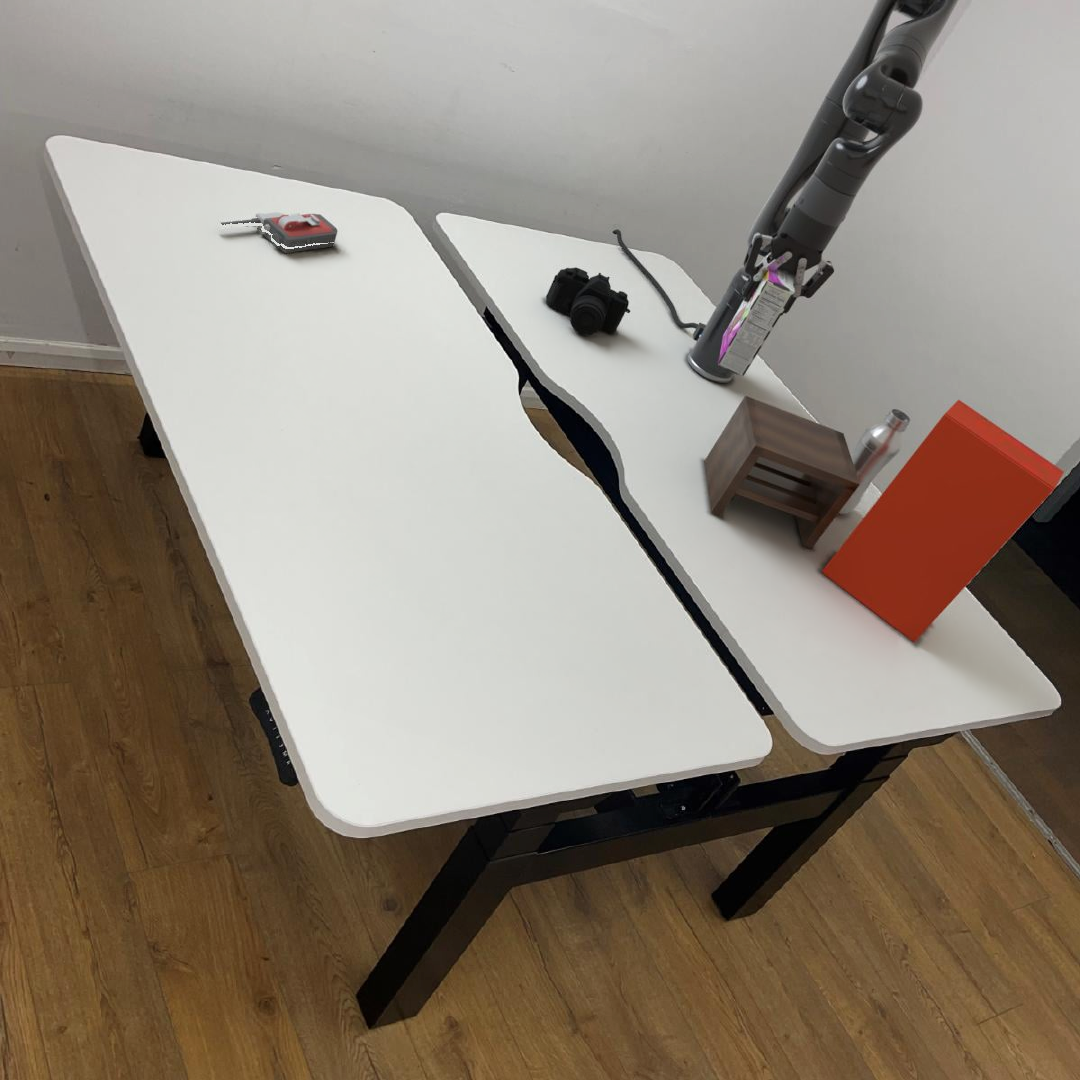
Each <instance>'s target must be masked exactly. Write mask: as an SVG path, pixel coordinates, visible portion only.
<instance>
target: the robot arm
mask: <svg viewBox="0 0 1080 1080" xmlns="http://www.w3.org/2000/svg"><path fill="white" fill-rule="evenodd" d="M958 2H960V1H959V0H876V1H875V3H874V4H873V7H872V9H871V10H870V13H869V15H868V17H867V19H866V21H865V23H864V25H863V27H862V30H861V31H860V33H859V35H858V37H857V40H856V41H855V43H854V45H853V47H852V49H851V51H850V52H849V55H848V56H847V58H846V60H845V62H844V63H843V65H842V67H841V68H840V70H839V72H838V73H837V75H836V77H835V79H834V81H833V82H832V84H831V86H830V87H829V89H828V91H827V92H826V94H825V96H824V97H823V100H822V101H821V103H820V105H819V107H818V109H817V110H816V113H815V114H814V116H813V119H812V120H811V122H810V124H809V126H808V128H807V130H806V132H805V134H804V136H803V137H802V139H801V142H800V144H799V146H798V147H797V149H796V152H795V154H794V155H793V157H792V159H791V160H790V162H789V164H788V166H787V167H786V170H785V171H784V173H783V174H782V176H781V178H780V180H779V181H778V182H777V184H776V186H775V187H774V189H773V191H772V192H771V194H770V196H769V197H768V199H767V201H766V202H765V204H764V205H763V207H762V208H761V210H760V212H759V214H758V216H757V217H756V219H755V221H754V222H753V224H752V226H751V229H750V231H749V234H748V236H747V242H746V245H747V247H748V249H747V251H746V254H745V257H744V261H743V266H740V267H739V268H738V269H736V272H735V273H734V275H733V276H732V279H731V280H730V283H729V284H728V286H727V288H726V289H725V291H724V293H723V295H722V296H721V299H720V300H719V302H718V304H717V305H716V306H715V308H714V310H713V312H712V314H711V316H710V318H709V319H708V321H707V323H706V324H704V323H702V322H699V323H696V322H688V323H687V322H686V323H684V322H682V321H681V319H680V318H679V316H678V313H677V310H676V308H675V305H674V303H673V302H672V300H671V298H670V296H669V295H668V294H667V292H666V291H665V290H664V288H663V287H662V286H661V284H660V283H659V282H658V281H657V279H656V278H655V277H654V275H652V274H651V272H650V271H649V270H648V269H647V268H646V267H645V266H644V264H642V262H640V260H639V259H638V258H637V256H635V255H634V254H633V252H632V251H631V250H630V249H629V247H627V245H626V244H625V242H624V241H623V238H622V232H621V230H620V229H614V230H613V231H611V233H612V234H613V235H616V238H617V243H618V245H619V246H620V248H621V249H622V250H623V252H624V253H625V254H626V256H628V258H629V259H630V260H631V261H632V262H633V263H634V264H635V265H636V266H637V268H638V269H639V270H640V271H641V272H642V273H643V274H644V275H645V277H646V278H647V279H648V280H649V281H650V282H651V283H652V284H653V286H654V287H655V288H656V290H657V291H658V292H659V294H660V295H661V297H662V298H663V299H664V302H665V303H666V304H667V306H668V308H669V310H670V313H671V316H672V319H673V321H674V323H675V324H676V325H677V326H678V327H680V328H682V329H694V332H693V333H692V339H693V341H695V344H694V346H693V347H692V349H691V351H689V354H687V362H688V364H689V365H690V367H691V368H692V369H693V370H694V371H695V372H696V373H697V374H699V375H701V376H702V377H704V378H706V379H708V380H710V381H712V382H715V383H720V384H726V383H727V384H728V383H730V382H731V381H732V380H733V378H734V376H735V373H733V372H731V371H729V370H727V369H724V368H722V367H721V366H719V365H718V361H719V356H720V350H721V344H722V338H723V335H724V333H725V331H726V330H727V328H728V326H729V325H730V323H731V321H732V319H733V318H734V316H735V314H736V312H737V311H738V309H739V307H740V305H741V304H742V302H743V300H744V301H746V302H749V301H750V299H751V297H752V296H753V294H754V292H755V290H756V289H757V287H758V285H759V284H760V283H759V281H760V280H761V279H762V278H763V277H764V276H765V274H766V273H767V272H768V271H770V272H773V271H774V270H775V269H779V270H783V271H786V272H788V273H789V274H791V275H793V276H794V279H795V293H794V295H793V296H792V298H791V299H790V301H789V303H788V304H787V306H786V307H785V309H784V311H783V312H782V314H781V316H780V317H782V316H783V315H784V314H788V313H789V311H790V310H791V308H792V306H794V304H795V302H796V301H797V299H798V298H800V297H803V298H806V299H810V298H812V297H813V296H814V295H815V294H816V292H818V290H820V288H821V287H822V286H823V285H824V284H825V283H826V282H827V281H828V279H829V278H830V277H832V275H833V274H834V272H835V268H834V266H833V263H832V261H830V260H825V259H824V258H823V253H824V251H825V250H826V248H827V247H828V245H829V244H830V242H831V240H832V239H833V237H834V236H835V234H836V232H837V231H838V229H839V227H840V226H841V224H842V223H843V222H844V221H845V219H846V216H847V214H848V213H849V211H850V209H851V207H852V205H853V202H854V201H855V198H856V196H857V195H858V193H859V192H860V190H861V188H862V187H863V186H864V183H865V182H866V180H867V179H868V177H869V176H870V174H871V173H872V171H873V169H874V168H876V166H877V165H878V163H879V162H880V161H881V160H882V159H883V158H884V157H885V155H886V154H888V152H890V150H891V149H892V148H893V147H895V146H896V145H897V144H898V143H899V142H900V141H901V140H902V139H903V138H904V137H905V136H906V135H907V134H908V133H909V132H910V131H912V129H914V128H915V125H916V124H917V123H918V122H919V120H920V117H921V116H922V113H923V107H924V102H923V100H924V99H923V96H922V95H921V94H920V92H919V91H917V90H915V87H916V85H917V84H918V82H919V79H920V78H921V74H922V71H923V69H924V66H925V63H926V60H927V58H928V55H929V54H930V51H931V50H932V48H933V46H934V44H935V43H936V41H937V40H938V38H939V37H940V35H941V33H942V31H943V30H944V28H945V27H946V25H947V22H948V21H949V19H950V17H951V16H952V14H953V12H954V10H955V8H956V7H957V4H958ZM893 13H897V14H898V15H900V16H902V17H904V18H906V19H908V21H905V22H901V23H900V24H897V25H896V26H895V27H893V28H892V29H890V31H888V32H887V28H888V25H889V22H890V19H891V16H892V14H893ZM870 132H871V133H874V134H875V135H876V136H874V137H873V138H871V139H869V140H866V139H867V137H868V136H869V134H870ZM798 193H799V194H798ZM797 194H798V196H797ZM795 196H797V198H796V199H795V201H794V203H793V204H792V206H791V207H790V206H788V205H789V203H790V202H791V201H792V200H793V199H794V198H795ZM759 256H761V257H763V258H762V259H761V261H760V262H759V263H758V264H757V261H758V257H759ZM815 266H816V267H815ZM814 267H815V272H814V273H813V274H812V275H811V277H810V278H809V279H808V280H807V281H806V282H805V284H804V278H805V273H806V272H807V270H808V271H809V270H810V269H812V268H814Z"/></svg>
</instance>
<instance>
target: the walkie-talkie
mask: <svg viewBox="0 0 1080 1080" xmlns="http://www.w3.org/2000/svg"><path fill="white" fill-rule="evenodd" d="M255 217H257V218H255ZM255 217H253V218H250V219H242V221H241V220H231V221H232V222H231V221H222V222H220V223H221V224H222V225H224V224H225V225H226V224H230V223H232V224H238V223H243V224H244V223H249V222H251V223H254V222H255V223H262V224H263V226H264V229H265V230H267V231H269V232H270V233H271V234H273V235H272V238H273V239H274V240H275V241H276V242H277V243H279V244H281V243H282V244H284V245H285V246H287V247H295V246H305V244H306V245H308V244H313V243H315V244H316V243H328V242H329V243H328V244H320V245H313V246H312V245H311V246H306V247H302V248H299V247H298V248H294V249H285V248H283V247H282V246H281V245H280V246H277V245H276V244H275V243H274V242H272V241H271V235H269V234H268V233H266V232H262V230H260V229H261V228H262V226H252V227H257V228H258V229H259V233H260V234H261V235H263V236H264V237H265V238H266V239H268V241H270V242H271V243H272V245H273V246H274V247H277V248H278V249H279V250H280V251H281V252H282V253H285V254H287V253H295V252H303V251H310V250H311V251H312V250H319V249H325V248H331V247H332V248H333V247H334V245H335V242H336V238H337V236H338V228H337V227H336V226H334V225H333V224H332V223H331V222H330V221H329V220H328V219H326V218H325V216H323V215H322V214H320V213H319V214H318V213H305V214H300V213H291V214H290V215H289V214H285V213H281V212H278V211H277V212H266V213H265V212H264V213H261V212H259V213H256V214H255ZM247 227H248V226H246V227H245V228H247ZM330 242H334V243H330Z"/></svg>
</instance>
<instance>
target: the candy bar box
mask: <svg viewBox="0 0 1080 1080" xmlns="http://www.w3.org/2000/svg"><path fill="white" fill-rule="evenodd" d="M759 283H760V284H759V285H758V287H757V289H756V290H755V292H754V294H753V296H752V297H751V299H750V301H749V302H746V301H744V300H743V302H742V304H741V305H740V307H739V309H738V311H737V312H736V314H735V316H734V318H733V319H732V321H731V323H730V325H729V326H728V328H727V330H726V331H725V333H724V335H723V338H722V344H721V350H720V356H719V361H718V365H719V366H721V367H722V368H724V369H727V370H729V371H731V372H733V373H734V375H738V376H739V377H742V378H744V377H745V375H746V373H747V372H748V370H749V369H750V367H751V365H752V364H753V361H754V360H755V358H757V355H758V354H759V352H760V351H761V349H762V347H763V345H764V344H765V342H766V341H767V340H768V339H767V338H768V337H769V336H770V334H771V332H772V331H773V329H774V327H775V325H776V324H777V323H778V321H779V319H780V317H782V316H781V314H782V312H783V311H784V309H785V307H786V306H787V304H788V303H789V301H790V299H791V298H792V296H793V295H794V293H795V279H794V276H793V275H791V274H789V273H788V272H786V271H783V270H779V269H775V270H774V271H773V272H770V271H768V272H767V273H766V274H765V276H764V277H763V278H762V279H761V280H760V281H759Z"/></svg>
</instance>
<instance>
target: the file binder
mask: <svg viewBox="0 0 1080 1080" xmlns="http://www.w3.org/2000/svg"><path fill="white" fill-rule="evenodd" d="M1064 473H1065V471H1064V470H1063V469H1061V468H1059V467H1058V466H1057V465H1055V464H1054V463H1052V462H1051V461H1049V460H1048V459H1046V458H1045V457H1043V456H1042V455H1041V454H1039V453H1038V452H1037V451H1035V450H1034V449H1032V448H1031V447H1029V446H1028V445H1026V444H1024V442H1022V441H1020V440H1018V439H1017V438H1016V437H1014V436H1013V435H1012V434H1010V433H1009V432H1007V431H1005V430H1004V429H1003V428H1001V427H1000V426H998V425H997V424H995V423H994V422H993V421H991V420H989V419H988V418H986V417H985V416H984V415H982V414H981V413H979V412H977V411H976V410H975V409H974V408H972V407H971V406H969V405H968V404H966V403H965V402H963V401H962V400H960V399H958V400H957V401H956V402H955V403H954V404H952V405H951V406H950V408H948V410H947V411H946V412H945V413H944V414H943V415H942V416H941V418H940V419H939V421H938V422H937V423H936V424H935V425H934V427H933V428H932V429H931V430H930V432H929V433H928V435H927V436H926V437H925V438H924V440H922V442H921V443H920V445H919V446H918V447H917V448H916V450H915V451H914V452H913V454H912V455H911V456H910V458H909V459H908V460H906V463H905V464H904V465H903V467H902V468H901V469H900V470H899V471H898V473H897V475H895V477H894V478H893V479H892V481H891V482H890V483H889V484H888V485H887V487H886V488H885V490H884V491H883V492H882V493H881V494H880V496H879V497H878V498H877V499H876V501H875V502H874V504H873V505H872V506H871V508H870V509H869V510H868V511H867V512H866V514H865V515H864V517H863V518H862V519H861V521H859V523H858V524H857V526H856V527H855V528H854V529H853V531H852V532H851V533H850V535H848V537H847V538H846V540H845V541H844V542H843V543H842V545H841V546H840V548H839V549H838V550H837V551H836V552H835V554H833V556H832V558H831V559H830V560H829V562H828V563H827V564H826V565H825V567H824V568H823V569H822V570H821V573H822V574H823V575H825V576H826V577H827V578H829V579H830V580H831V581H832V582H834V583H835V584H836V585H838V586H839V587H840V588H841V589H842V590H844V591H845V592H847V593H848V594H849V595H851V596H852V597H853V598H854V599H856V600H857V601H859V602H860V603H861V604H863V605H864V606H865V607H867V609H869V610H870V611H872V612H873V613H874V614H875V615H877V616H878V617H879V618H881V619H882V620H883V621H884V622H886V623H887V624H889V625H890V626H891V627H893V628H894V629H895V630H897V631H898V632H899V633H900V634H902V635H903V636H904V637H906V638H907V639H908V640H910V641H911V642H912V643H915V642H916V641H918V639H919V638H920V637H921V636H922V635H923V634H924V633H925V632H926V630H928V628H929V627H930V626H931V625H932V624H933V623H934V622H935V621H936V620H937V618H938V617H939V616H940V615H942V613H943V612H944V611H945V610H946V609H947V608H948V606H949V605H950V604H951V603H952V602H953V601H954V600H955V599H956V598H957V597H958V595H959V594H960V593H961V592H963V590H964V589H965V588H966V586H967V585H968V584H969V583H970V582H971V581H973V579H974V578H975V577H976V576H977V575H978V573H980V572H981V570H982V569H983V568H984V567H985V566H986V565H987V564H988V562H990V561H991V559H992V558H993V557H994V556H995V555H996V554H997V553H998V552H999V551H1000V550H1001V548H1002V547H1003V546H1004V545H1005V544H1006V543H1007V542H1008V541H1009V540H1010V538H1011V537H1012V536H1013V535H1014V534H1015V533H1016V532H1017V531H1018V530H1019V528H1020V527H1022V526H1023V524H1024V523H1025V522H1027V520H1028V519H1029V518H1030V516H1031V515H1033V513H1034V512H1035V511H1036V510H1037V509H1038V508H1039V507H1040V506H1041V505H1042V503H1043V502H1044V501H1045V500H1046V499H1047V498H1048V497H1049V496H1050V495H1051V494H1052V492H1054V490H1055V489H1056V487H1057V485H1058V484H1059V482H1060V481H1061V479H1062V477H1063V475H1064Z"/></svg>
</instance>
